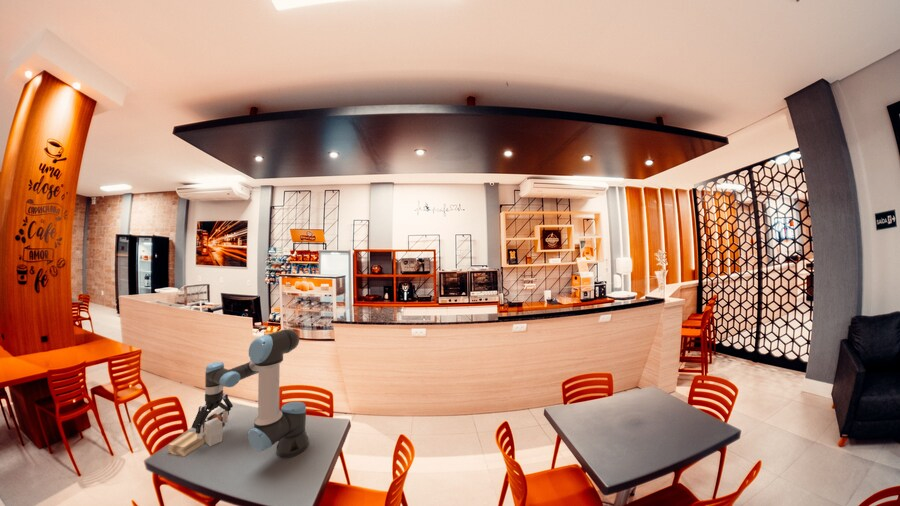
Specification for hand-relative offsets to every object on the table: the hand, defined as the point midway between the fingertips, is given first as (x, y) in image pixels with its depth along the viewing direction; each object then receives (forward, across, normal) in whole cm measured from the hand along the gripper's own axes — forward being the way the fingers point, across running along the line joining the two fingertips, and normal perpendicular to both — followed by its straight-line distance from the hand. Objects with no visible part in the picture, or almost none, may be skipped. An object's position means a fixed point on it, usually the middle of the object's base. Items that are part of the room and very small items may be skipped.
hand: (213, 430), depth 151 cm
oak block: (+7, +7, -8) cm, 12 cm away
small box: (+6, 0, 0) cm, 6 cm away
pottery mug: (+7, -11, -11) cm, 17 cm away
